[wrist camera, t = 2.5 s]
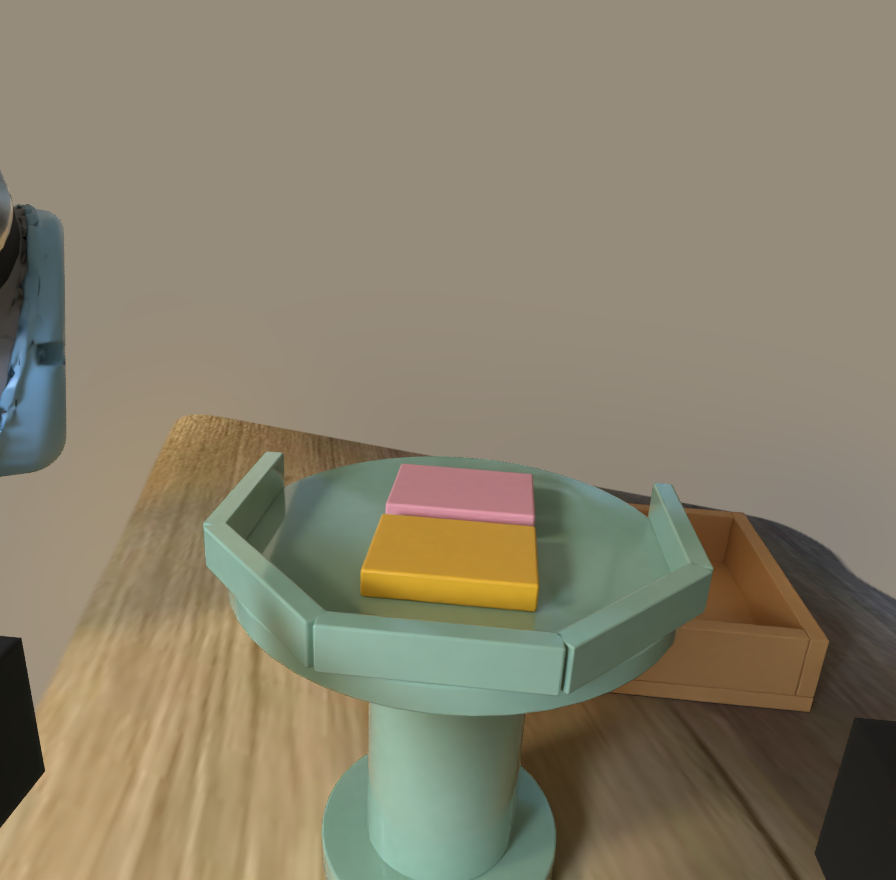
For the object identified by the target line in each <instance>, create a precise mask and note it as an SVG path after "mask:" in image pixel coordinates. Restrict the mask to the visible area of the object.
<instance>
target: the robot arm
mask: <svg viewBox="0 0 896 880" xmlns="http://www.w3.org/2000/svg"><path fill="white" fill-rule="evenodd" d="M65 441H66V373H65V275H64V232H63V225H62V223H61V220H60V219H59V218H58V217H57V216H56V215H54V214H53V213H51V212H49V211H45V210H38V209H35V208H34V207H32V206H31V205H29V204H27V205H20V204H18V205H16V206H14V207H13V204H12V198H11V195H10V192H9V189H8V187H7V184H6V182H5V180H4V177H3V175H2V173H1V170H0V477H1V476H9V475H16V474H24V473H30V472H35V471H38V470H41V469H43V468H45V467H47V466H49V465H50V464H51V463H53V462H54V461H55V460H56V459H57V458H58V456H59V455H60V454H61V452H62V451H63V448H64V445H65ZM44 772H45V768H44V763H43V757H42V752H41V746H40V740H39V735H38V729H37V723H36V718H35V712H34V707H33V701H32V695H31V690H30V684H29V679H28V673H27V667H26V662H25V656H24V650H23V645H22V639H21V638H16V637H6V636H0V828H1V826H2V825H3V824H4V823H5V821H6V820H7V819H8V818H9V816H10V815H11V814H12V812H13V811H14V810H15V809H16V807H17V806H18V805H19V804H20V802H21V801H22V800H23V798H24V797H25V796H26V795H27V793H28V792H29V791H30V790H31V788H32V787H33V786H34V784H35V783H36V782H37V781H38V779H39V778H40V777H41V776H42V774H43V773H44ZM815 856H816V858H817V860H818V862H819V865H820V867H821V869H822V872H823V874H824V876H825V878H826V880H896V721H885V720H875V719H864V718H854V722H853V725H852V729H851V732H850V735H849V739H848V742H847V745H846V749H845V752H844V756H843V759H842V762H841V766H840V769H839V773H838V776H837V779H836V783H835V786H834V789H833V793H832V796H831V800H830V803H829V806H828V810H827V813H826V816H825V820H824V823H823V827H822V830H821V833H820V837H819V840H818V844H817V847H816V850H815Z"/></svg>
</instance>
